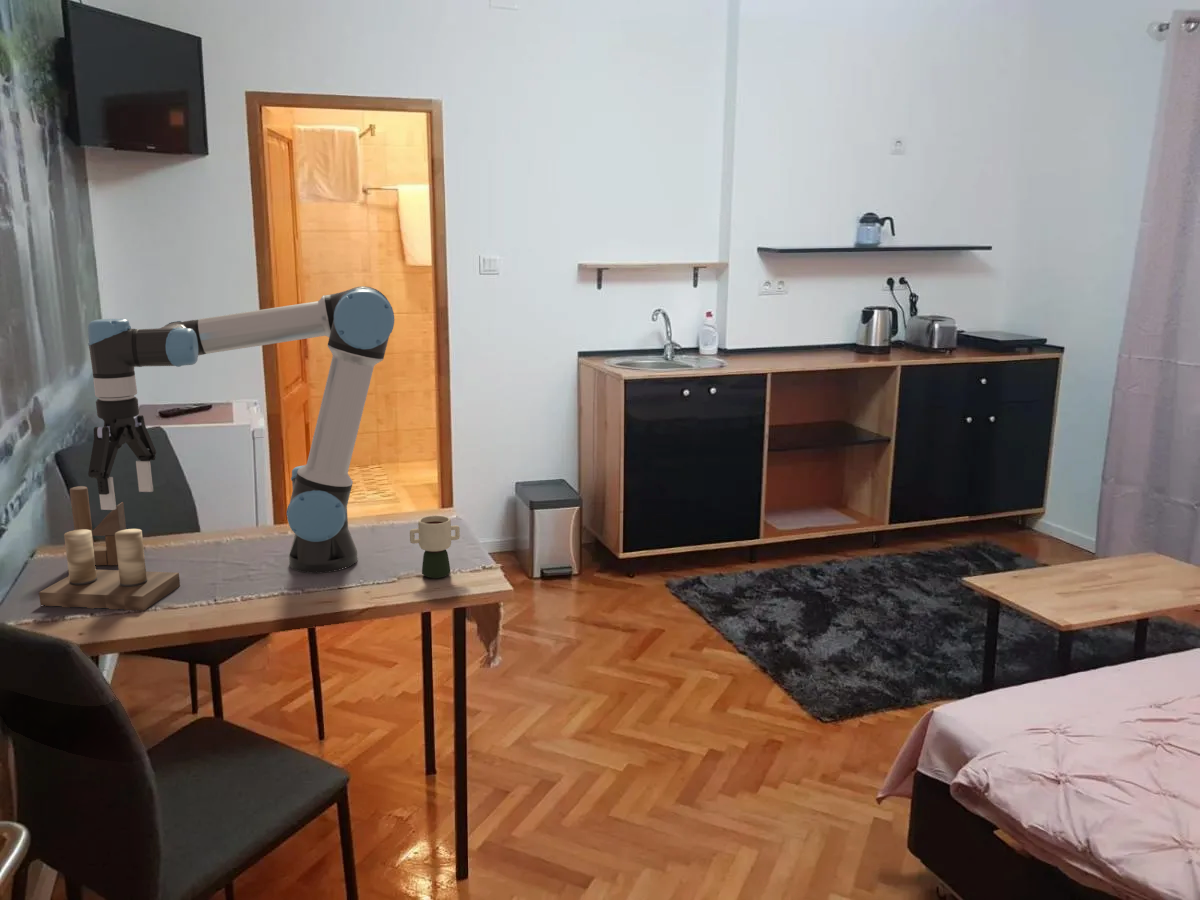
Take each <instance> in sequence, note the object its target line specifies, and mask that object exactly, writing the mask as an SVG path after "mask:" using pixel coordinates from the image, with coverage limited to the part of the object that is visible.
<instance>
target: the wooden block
mask: <svg viewBox="0 0 1200 900" xmlns="http://www.w3.org/2000/svg"><path fill="white" fill-rule="evenodd" d="M69 496H70V503H71V505H70V506H71V512H72V514H71V515H72V521H73V529H74V530H81V529H87V530H91V531H92V540H93V549H94V558H95V565H96V566H118V559H117V550H116V541H115V533H116V532H118V531H121V530H126V529H127V525H126V516H125V507H124V506H125V505H124V502H123V501H122V502H120V503H118V504H116V509H115V510H110V512H109V513H108V514H107V515H106V516H105V517H104V518H103V519H102V521H100V523H99V524H98V525H96V527H94V528H93V525H92V514H91V507H90V499H89V496H90V495H89V489H88V487H87V486H84V485H80V486H79V485H78V486H73V487H70V488H69ZM98 536H99V537H100V536H101V537H102V536H104V539H105V546H101V545H99V546H95V542H94V537H98Z"/></svg>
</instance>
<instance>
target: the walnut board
mask: <svg viewBox="0 0 1200 900" xmlns="http://www.w3.org/2000/svg"><path fill="white" fill-rule="evenodd" d="M92 531H93V530H92ZM92 531H91V530H87V529H81V530H70V531H66V532H65V533H64V534H63V537H64V545H65V546H64V547H65V552H66V553H65V554H66V561H67V562H66V563H67V571H68V576H66V577H64V578H63V579H60V580H59V581H57V582H55V583H54V584H51V585H49V586H48V587H45V588H44V589H42V590H41V591H38V596H39V603H40V606H41V605H45V606H44V607H46V606H62V607H61V608H70V607H87V608H86V609H94V608H109V609H108V610H118V609H124V610H125V611H142V612H143V611H146V610H147V609H148V608H150V607H151V606H153V605H155V604H156V603H158V602H159V601H160V600H162V599H163V598H165V597H166V596H167V595H170V593H172V592H174V591H175V590H176V589H178V588H180V586H181V581H180V572H172V571H169V572H168V571H147V570H146V577H147V582H146V583H145V584H143V585H141V586H138V587H122V586H120V577H119V569H118V570H117V569H116V570H115V569H113V570H112V569H96V566H97V565H96V566H95V558H94V549H93V540H94V539H93V540H92ZM124 610H123V611H124Z"/></svg>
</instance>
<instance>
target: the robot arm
mask: <svg viewBox="0 0 1200 900" xmlns="http://www.w3.org/2000/svg"><path fill="white" fill-rule="evenodd" d="M394 325H395V313H394V309H393V306H392V305H391V303H390V301H389V300H388V298H387V297H386V296H385V295H384V293H382V292H381V291H380V290H378V289H376V288H375V287H374V288H373V287H370V286H364V285H362V286H355V287H353V288H350V289H347V290H343V291H340V292H337V293H330V294H326V295H322V296H321V298H320V299H319V300H317V301H310V302H303V303H297V304H292V305H291V304H290V305H284V306H277V307H271V308H264V309H258V310H257V309H256V310H250V311H244V312H243V311H242V312H237V313H232V314H231V313H230V314H223V315H216V316H212V317H211V316H210V317H203V318H199V319H191V320H185V321H183V320H177V321H171V322H168V323H167V324H165V325H164V326H162V327H160V328H141V329H139V328H132V327H131V324H130V321H129V320H128V319H125V318H102V319H99V318H98V319H95V320H94V319H93V320H92V321H90V322H89V323H88V324H87V330H88V331H87V332H88V333H87V334H88V343H87V344H88V345H87V346H88V348H89V355H90V362H91V369H92V378H93V386H94V395H95V397H96V398H98V399H97V400H96V401H95V406H96V407H95V408H96V415H97V418H98V419H102V420H103V426H94V428H93V443H92V448H91V453H90V454H91V455H90V461H89V468H88V477H89V478H91V479H96V481H97V488H98V489H97V490H98V495H99V503H100V504H99V505H100V510H101V511H103V510H105V511H106V510H107V511H112V510H115V509H116V506H117V503H116V496H115V495H116V494H115V485H114V477H113V476H111V473H112V469H113V467H114V463H115V461H116V457H117V453H118V450H119V449H120V448H122V445H124V444H127V446H128V447H129V448H130V450H131V451H132V453H133V454H134V456H135V457H136V458H137V459H138V460H136V461H135V466H136V467H135V468H136V476H137V484H138V485H137V486H138V492H139V493H141V492H143V493H152V492H154V484H153V477H152V476H153V475H152V467H151V466H152V465H151V461H156V455H157V450H156V447H155V445H154V443H153V441H152V438H151V436H150V432H149V431H148V428H147V426H146V423H145V417H144V415H141V414H140V408H139V399H138V398H137V397H136V395H138V389H137V381H136V380H137V379H136V373H135V368H142V367H177V368H178V367H182V366H194V365H195V364H196V363H197V362H198V357H199V356H202V355H203V356H204V355H208V354H209V355H210V354H215V353H221V352H222V353H223V352H228V351H235V350H242V349H248V348H253V347H260V346H266V345H267V346H268V345H273V344H279V343H287V342H292V341H299V340H304V339H313V338H318V337H319V338H320V337H327V338H328V342H327V348H328V349H329V351H330V353H331V354H332V358H331V362H330V367H329V370H328V374H327V379H326V381H325V382H326V383H325V387H324V391H323V395H322V398H321V399H322V400H321V403H320V408H319V412H318V415H317V420H316V425H315V428H314V432H313V436H312V437H313V438H312V441H311V444H310V450H309V454H308V458H307V461H306V464H303V465H300V466H299V465H298V466H295V467H294V468H293V469H292V470H291V478H290V480H291V482H292V492H291V497H290V501H289V504H287V509H286V519H287V522H288V525H289V528H290V529H291V531H292V532H293V533H294V537H293V540H292V544H291V548H290V552H289V556H288V560H289V562H288V563H289V567H290V568H291V569H292V570H294V571H297V572H301V573H308V574H310V573H312V574H315V573H316V574H317V573H318V574H319V573H320V572H322V573H330V572H329V571H331V572H335V571H334V570H337V571H340V570H339V569H341V570H343V569H342V568H344V569H346V568H345V567H347V568H349V567H348V566H350V565H352V564H353V563H355V562H356V561H357V562H358V560H357V559H359V558H358V549H357V546H356V544H355V542H354V540H353V537H352V533H351V532H350V529H349V521H348V503H349V500H350V496H351V491H352V487H353V484H354V483H353V482H354V481H353V479H352V478H351V477H350V475H349V473H348V472H349V469H350V465H351V461H352V457H353V453H354V448H355V445H356V441H357V436H358V432H359V429H360V424H361V422H362V421H361V420H362V418H363V417H362V416H363V412H364V408H365V403H366V401H367V397H368V392H369V388H370V384H371V380H372V376H373V373H374V372H373V371H374V367H376V365H377V364H379V363H380V362H382V361H383V360H384V357H385V355H386V350H387V346H388V343H389V339H390V337H391V333H392V332H393V329H394ZM357 562H356V563H357ZM356 563H355V564H356ZM353 565H354V564H353ZM353 565H352V566H353ZM350 567H351V566H350Z"/></svg>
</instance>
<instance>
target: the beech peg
mask: <svg viewBox="0 0 1200 900" xmlns="http://www.w3.org/2000/svg"><path fill="white" fill-rule="evenodd" d="M143 538H144V537H143V530H142V529H140V528H128V529H127V528H126V530H121V531H118V532H116V533H115V541H116V550H117V559H118V565H117V568H118V570H119V577H120V586H122V587H138V586H141V585H143V584H145V583H146V582H147V577H146V571H147V570H146V559H145V550H144V541H143V540H144V539H143Z"/></svg>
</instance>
